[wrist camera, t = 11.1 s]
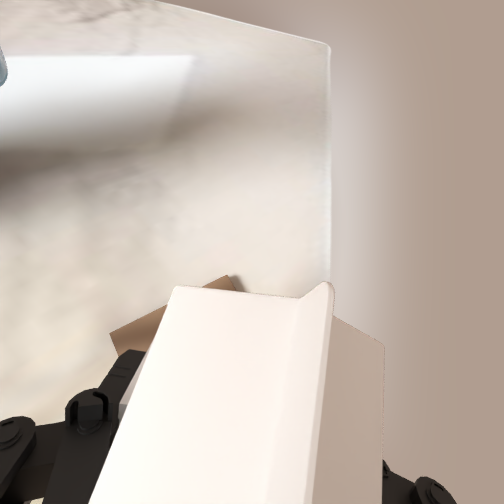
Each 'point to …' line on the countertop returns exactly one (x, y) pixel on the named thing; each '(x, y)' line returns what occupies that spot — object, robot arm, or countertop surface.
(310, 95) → the countertop surface
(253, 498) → the milk
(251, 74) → the countertop surface
